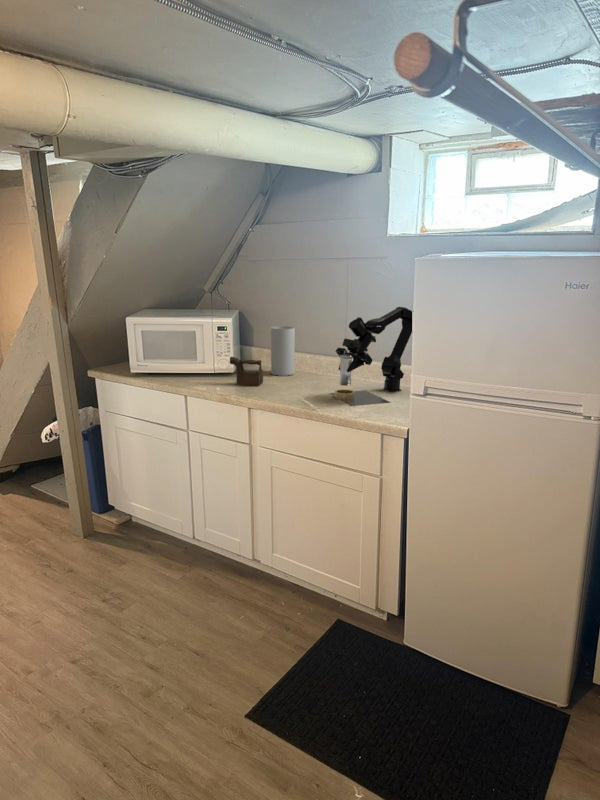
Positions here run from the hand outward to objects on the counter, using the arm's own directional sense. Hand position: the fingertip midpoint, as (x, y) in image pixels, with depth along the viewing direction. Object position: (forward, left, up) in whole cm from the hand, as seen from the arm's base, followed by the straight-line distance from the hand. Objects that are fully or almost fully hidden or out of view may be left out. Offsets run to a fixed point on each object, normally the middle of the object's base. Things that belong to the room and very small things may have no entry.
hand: (343, 370), depth 242 cm
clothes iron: (+32, -44, -13) cm, 55 cm away
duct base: (-7, +2, -13) cm, 15 cm away
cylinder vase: (+8, -62, -13) cm, 63 cm away
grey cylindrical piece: (-1, 0, -6) cm, 6 cm away
